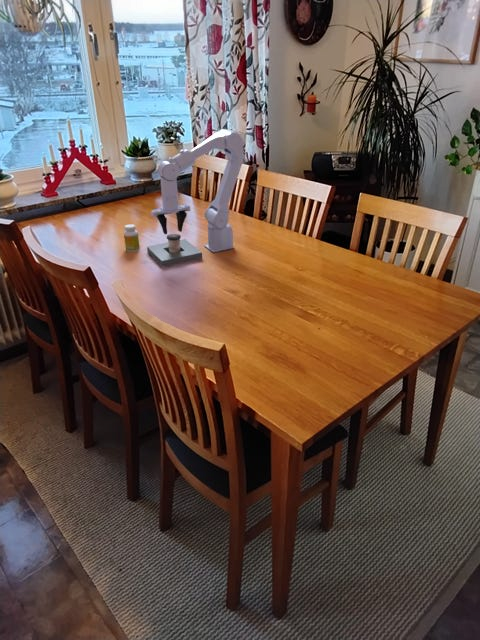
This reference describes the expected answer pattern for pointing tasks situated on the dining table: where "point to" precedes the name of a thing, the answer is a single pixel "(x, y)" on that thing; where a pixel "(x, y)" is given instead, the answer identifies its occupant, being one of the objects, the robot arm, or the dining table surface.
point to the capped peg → (174, 243)
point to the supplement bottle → (131, 238)
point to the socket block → (166, 259)
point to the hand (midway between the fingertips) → (172, 232)
